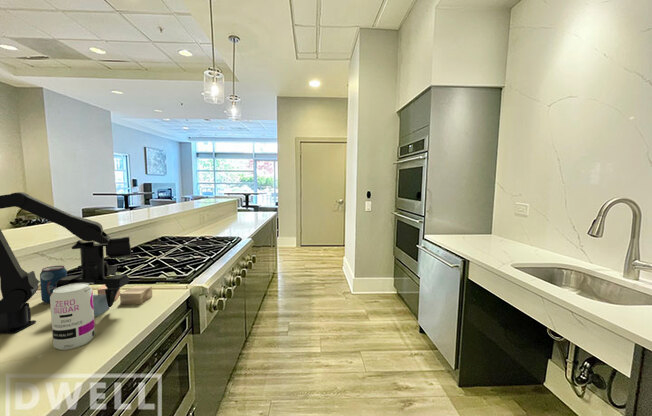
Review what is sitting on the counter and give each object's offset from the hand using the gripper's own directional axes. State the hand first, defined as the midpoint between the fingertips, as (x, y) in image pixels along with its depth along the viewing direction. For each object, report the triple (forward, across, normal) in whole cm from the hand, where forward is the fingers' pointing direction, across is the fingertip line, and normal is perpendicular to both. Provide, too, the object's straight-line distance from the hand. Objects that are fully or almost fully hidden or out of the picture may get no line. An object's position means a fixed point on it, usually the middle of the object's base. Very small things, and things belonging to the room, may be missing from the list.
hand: (95, 307), depth 91 cm
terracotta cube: (+2, +2, -10) cm, 11 cm away
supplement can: (+2, -7, +18) cm, 19 cm away
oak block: (+2, -8, -10) cm, 12 cm away
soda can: (+2, +21, -11) cm, 24 cm away
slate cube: (+2, 0, 0) cm, 2 cm away
